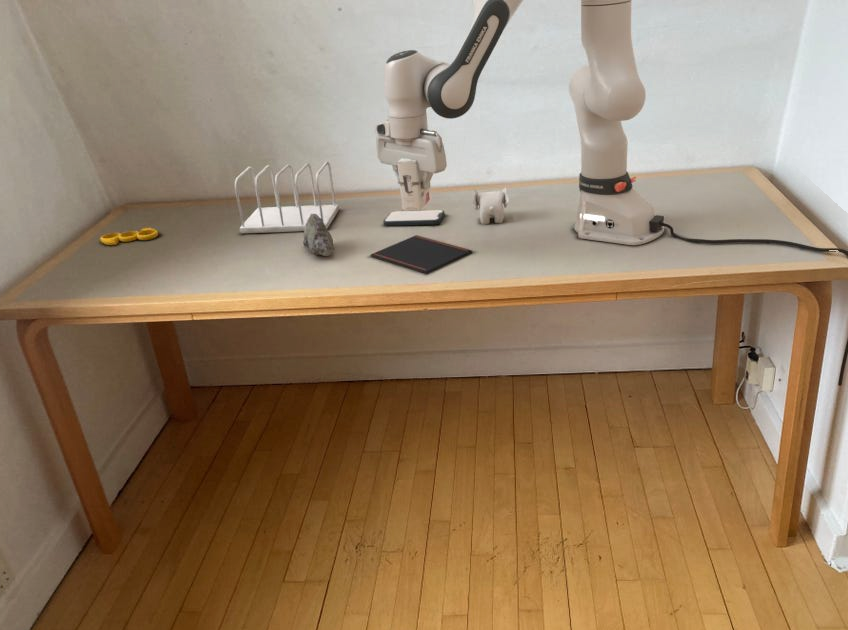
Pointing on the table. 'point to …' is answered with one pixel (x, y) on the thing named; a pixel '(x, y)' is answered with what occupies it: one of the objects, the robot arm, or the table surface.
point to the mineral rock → (317, 236)
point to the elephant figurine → (491, 205)
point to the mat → (421, 254)
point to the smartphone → (414, 218)
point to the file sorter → (286, 207)
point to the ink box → (411, 186)
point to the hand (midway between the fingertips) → (413, 186)
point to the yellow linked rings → (129, 236)
